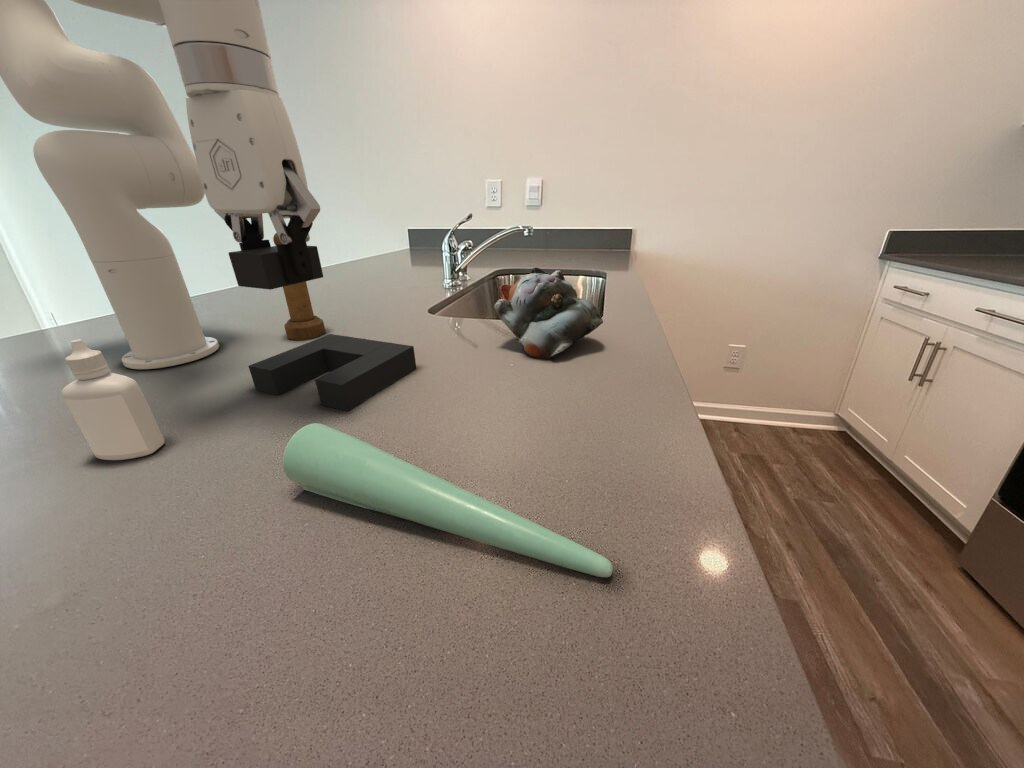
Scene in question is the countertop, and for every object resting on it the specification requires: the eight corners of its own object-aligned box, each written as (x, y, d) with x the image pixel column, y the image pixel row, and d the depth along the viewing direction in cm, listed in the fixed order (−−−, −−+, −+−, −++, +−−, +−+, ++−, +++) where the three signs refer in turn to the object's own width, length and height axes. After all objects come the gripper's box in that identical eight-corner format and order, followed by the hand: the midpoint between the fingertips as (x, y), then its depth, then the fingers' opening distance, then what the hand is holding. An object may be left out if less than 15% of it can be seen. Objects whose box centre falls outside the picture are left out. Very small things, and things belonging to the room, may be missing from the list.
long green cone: (610, 547, 22) (274, 443, 33) (602, 613, 25) (291, 497, 35) (627, 488, 27) (327, 412, 37) (619, 548, 29) (339, 462, 39)
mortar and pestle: (310, 341, 72) (284, 233, 64) (279, 339, 73) (249, 233, 66) (332, 329, 78) (311, 230, 70) (303, 328, 79) (278, 230, 72)
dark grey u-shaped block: (255, 389, 54) (248, 365, 53) (335, 354, 66) (330, 333, 64) (347, 411, 49) (341, 385, 47) (416, 368, 60) (413, 345, 59)
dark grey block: (238, 286, 44) (227, 252, 42) (293, 274, 49) (286, 244, 48) (270, 289, 42) (260, 254, 40) (323, 277, 47) (317, 245, 46)
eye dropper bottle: (123, 469, 39) (61, 352, 34) (90, 457, 41) (27, 345, 36) (172, 445, 43) (123, 336, 37) (140, 435, 45) (88, 330, 39)
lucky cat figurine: (537, 366, 59) (496, 278, 57) (513, 368, 71) (478, 295, 69) (618, 323, 63) (582, 239, 61) (583, 332, 75) (551, 261, 73)
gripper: (131, 82, 38) (199, 281, 45) (255, 57, 31) (310, 292, 39) (213, 97, 44) (261, 269, 52) (331, 78, 37) (365, 278, 45)
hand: (281, 277), depth 45 cm, fingers closed on dark grey block, 5 cm apart
